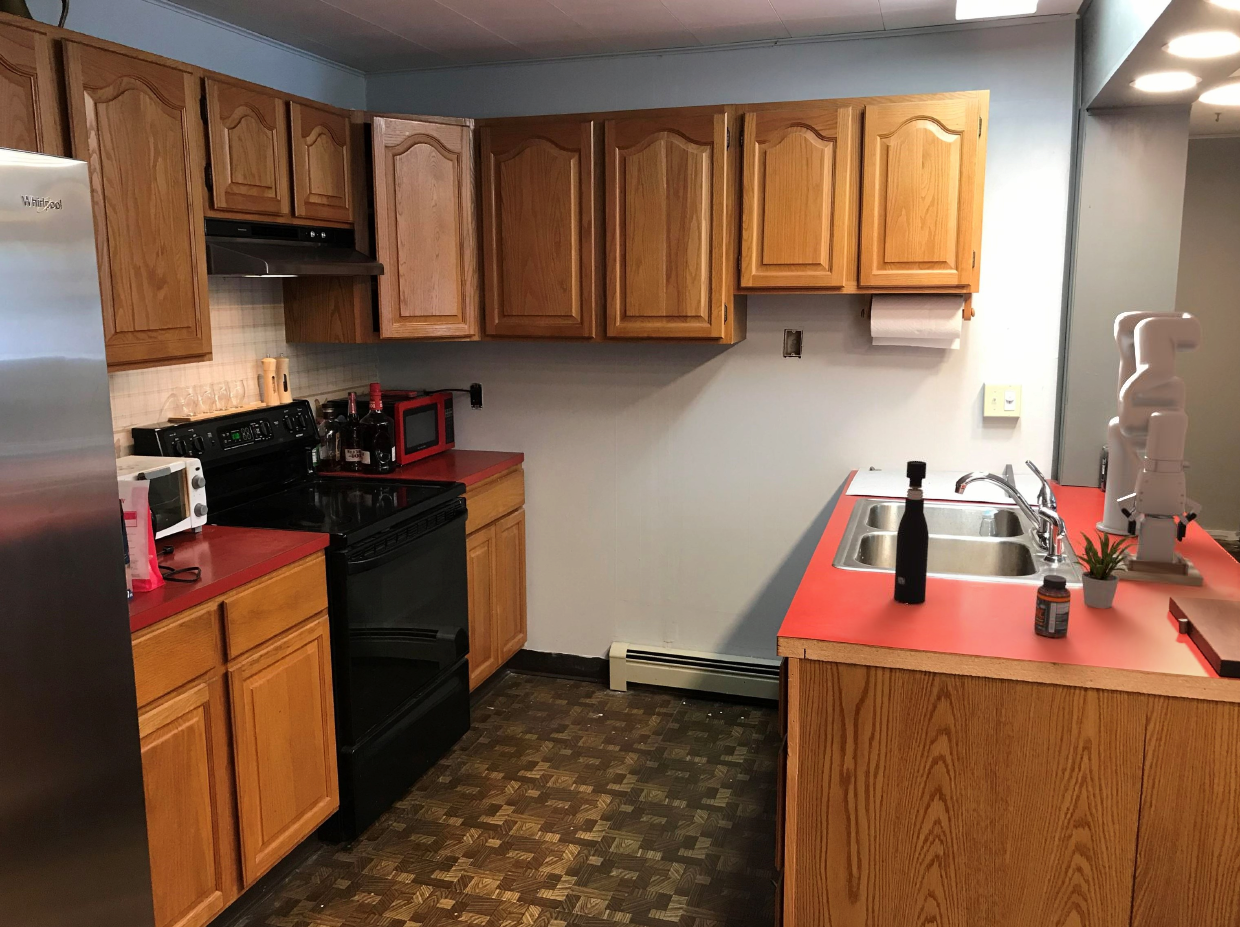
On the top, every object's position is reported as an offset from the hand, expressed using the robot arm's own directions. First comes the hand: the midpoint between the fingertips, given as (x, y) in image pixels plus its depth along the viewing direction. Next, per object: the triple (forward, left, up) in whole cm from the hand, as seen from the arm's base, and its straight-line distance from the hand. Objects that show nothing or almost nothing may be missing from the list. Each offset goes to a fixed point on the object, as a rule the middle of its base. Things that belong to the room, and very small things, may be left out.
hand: (1155, 538), depth 224 cm
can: (0, 0, -7) cm, 7 cm away
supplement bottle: (+50, -25, -9) cm, 56 cm away
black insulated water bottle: (+38, -52, -9) cm, 65 cm away
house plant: (+28, -13, -9) cm, 32 cm away
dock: (-1, 0, -9) cm, 9 cm away
